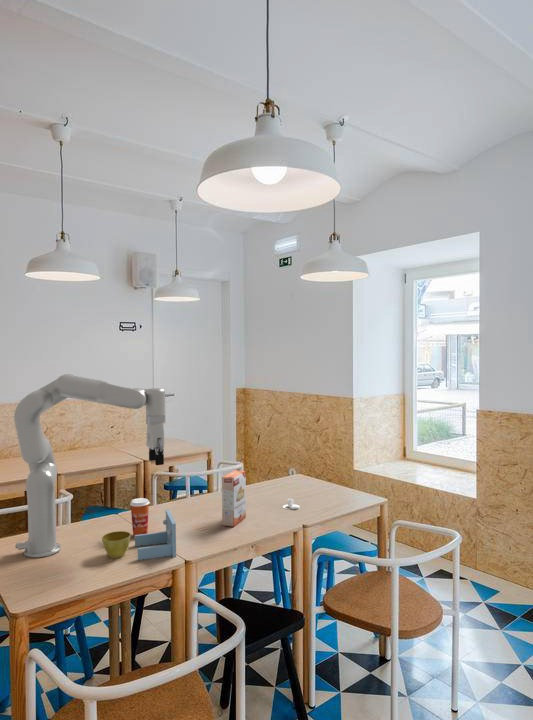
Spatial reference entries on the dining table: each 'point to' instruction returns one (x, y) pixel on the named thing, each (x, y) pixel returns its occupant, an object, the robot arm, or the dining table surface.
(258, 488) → the dining table surface
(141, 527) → the paper cup
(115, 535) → the flower pot
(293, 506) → the white lobed knob
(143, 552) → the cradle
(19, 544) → the robot arm
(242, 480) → the cracker box
